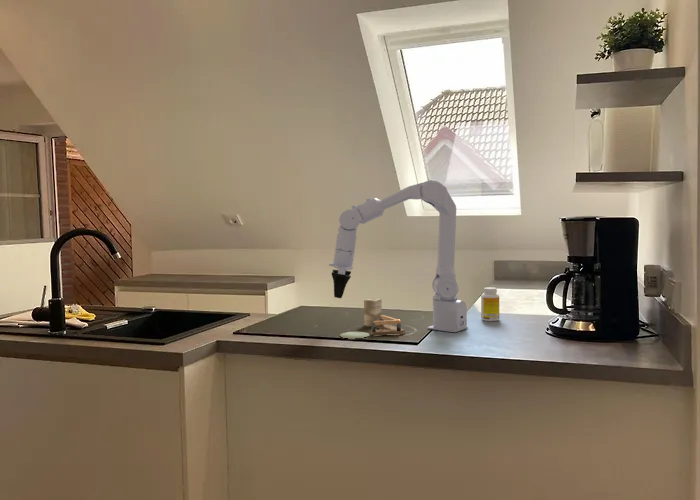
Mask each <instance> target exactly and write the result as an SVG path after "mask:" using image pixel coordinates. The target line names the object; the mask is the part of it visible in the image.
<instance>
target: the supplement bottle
mask: <svg viewBox="0 0 700 500" xmlns="http://www.w3.org/2000/svg"><path fill="white" fill-rule="evenodd" d="M480 302H481V303H480V304H481V307H480V308H481V309H480V311H481V314H480V315H481V320H483V321H484V322H497V321H499V320H500V294H499V293H498V289H497V287H493V286H492V287H490V286H488V287H484V288H483V293H482V294H481V298H480Z"/></svg>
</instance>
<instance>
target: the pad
mask: <svg viewBox="0 0 700 500" xmlns="http://www.w3.org/2000/svg"><path fill="white" fill-rule="evenodd" d="M339 336H341V337H343V338H342V339H344V338H348V339H347V340H356V339H355V338H363V339H365V338H364V337H367V336H369V337H370V333H369V332H365V331H346V332H342V333H341V334H339ZM341 337H340V338H341ZM367 338H368V337H367Z"/></svg>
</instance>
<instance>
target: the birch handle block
mask: <svg viewBox="0 0 700 500" xmlns="http://www.w3.org/2000/svg"><path fill="white" fill-rule="evenodd" d="M382 303H383V302H382V298H367V299H363V315H364V316H363V318H364V319H363V320H364V321H363V322H364V325H366V326H365V327H371V326H372V323H373V321H380V315H383V312H382ZM376 326H377V325H376Z"/></svg>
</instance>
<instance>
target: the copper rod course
mask: <svg viewBox="0 0 700 500" xmlns="http://www.w3.org/2000/svg"><path fill="white" fill-rule="evenodd" d="M376 325H377V327H376ZM395 325H396V326H395ZM377 328H379V329H377ZM380 329H382V330H380ZM402 333H404V334H405V329H403V328H402V320H401V319H397V318H394V317H391V316H388V315H384V314H382V315H380V321H373V323H372V327H371V330H370V335H371V334H372V335H387V334H402ZM372 335H371V336H372ZM402 335H403V334H402Z"/></svg>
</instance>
